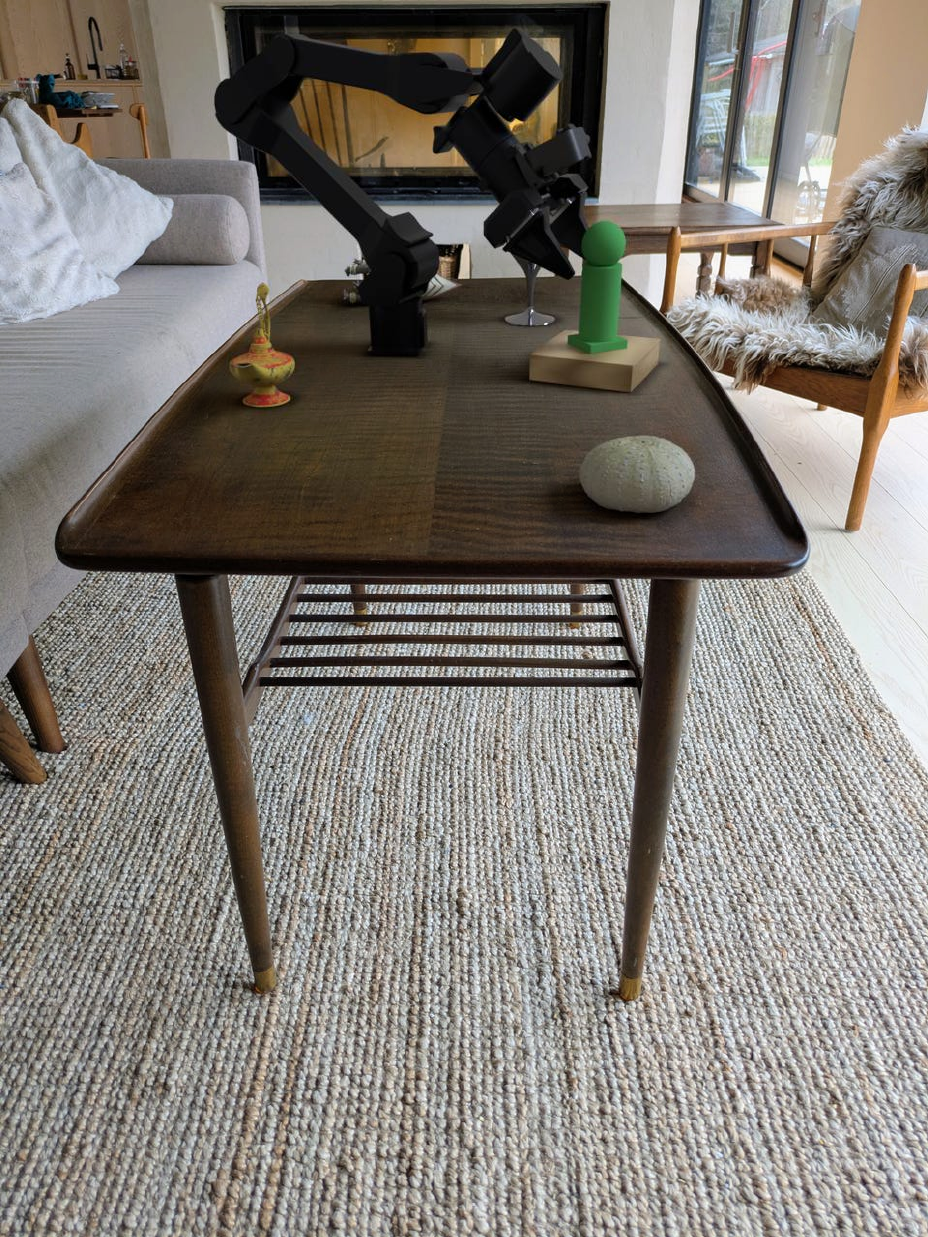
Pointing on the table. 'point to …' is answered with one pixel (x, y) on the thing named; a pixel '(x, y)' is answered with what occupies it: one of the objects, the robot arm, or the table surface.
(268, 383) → the magic lamp
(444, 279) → the figurine
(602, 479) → the sea urchin shell
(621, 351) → the wooden block
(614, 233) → the green toy
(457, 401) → the table surface
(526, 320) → the wine glass
